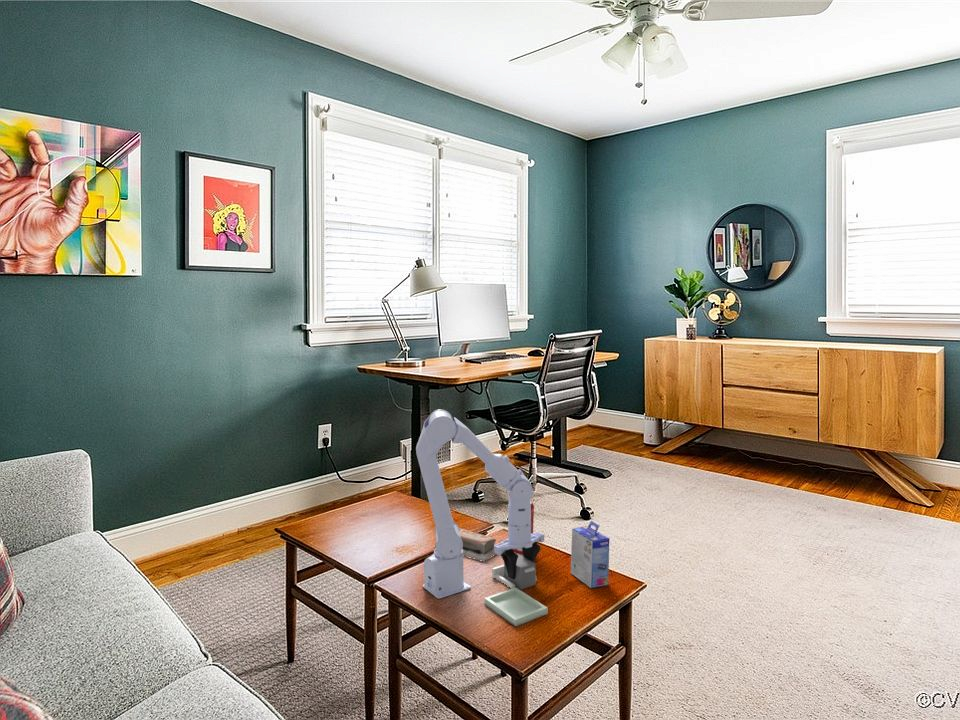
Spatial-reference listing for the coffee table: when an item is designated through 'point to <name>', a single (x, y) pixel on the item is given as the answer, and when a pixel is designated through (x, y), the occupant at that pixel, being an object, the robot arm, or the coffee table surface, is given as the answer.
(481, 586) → the coffee table surface
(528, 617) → the tray
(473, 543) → the packaged product
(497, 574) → the frame
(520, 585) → the grey tabbed box
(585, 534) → the ink cartridge box
